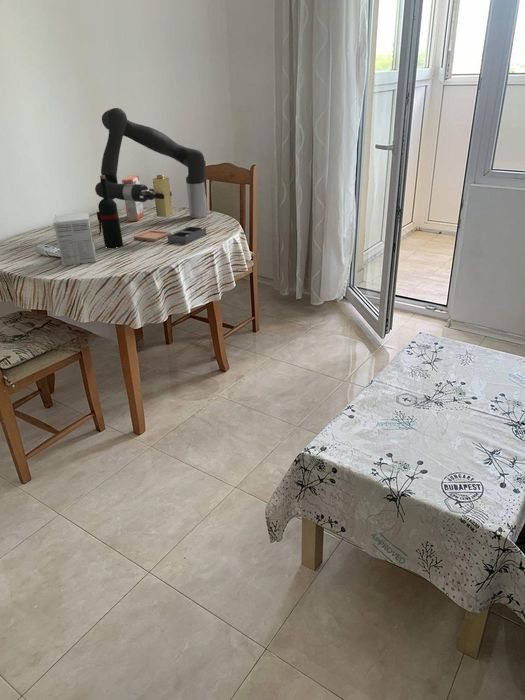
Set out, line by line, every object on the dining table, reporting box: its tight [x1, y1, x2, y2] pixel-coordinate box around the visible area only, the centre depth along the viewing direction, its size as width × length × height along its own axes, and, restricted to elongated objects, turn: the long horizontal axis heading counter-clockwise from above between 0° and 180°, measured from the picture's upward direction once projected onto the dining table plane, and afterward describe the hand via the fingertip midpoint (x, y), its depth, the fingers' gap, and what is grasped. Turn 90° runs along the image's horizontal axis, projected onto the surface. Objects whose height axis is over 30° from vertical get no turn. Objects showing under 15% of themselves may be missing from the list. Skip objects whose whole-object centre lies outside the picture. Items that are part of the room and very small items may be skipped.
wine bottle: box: [96, 174, 124, 249], centre depth 224 cm, size 8×10×30 cm
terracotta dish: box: [133, 229, 172, 243], centre depth 241 cm, size 12×12×1 cm
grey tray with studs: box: [167, 226, 207, 245], centre depth 237 cm, size 17×10×3 cm, turn 155°
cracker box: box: [121, 175, 144, 222], centre depth 271 cm, size 14×6×21 cm, turn 179°
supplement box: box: [53, 211, 97, 266], centre depth 211 cm, size 13×13×18 cm
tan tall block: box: [152, 174, 173, 218], centre depth 228 cm, size 5×5×17 cm
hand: (167, 195), depth 227 cm, fingers closed on tan tall block, 5 cm apart
